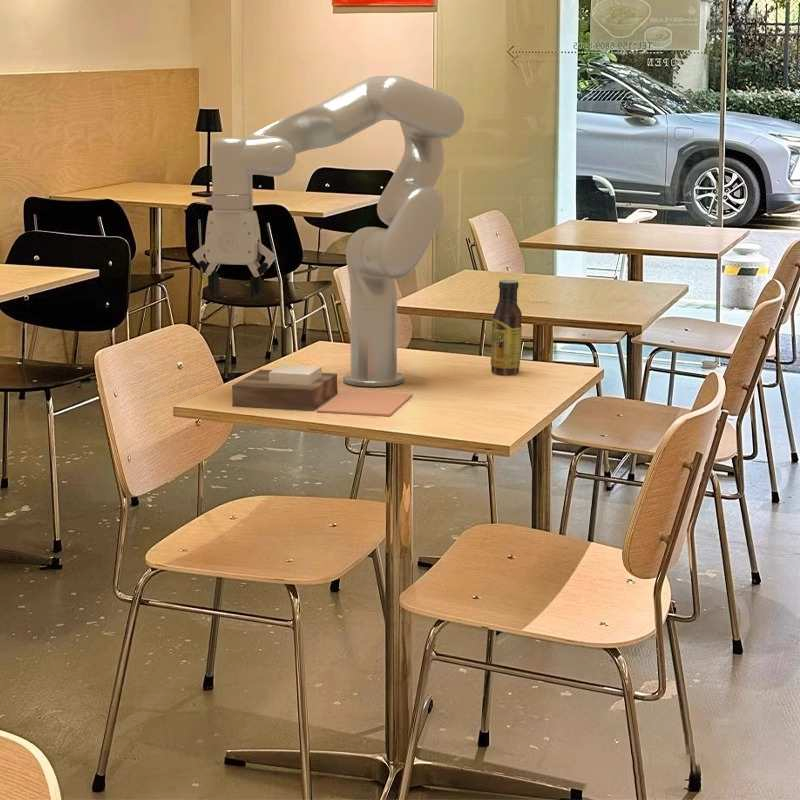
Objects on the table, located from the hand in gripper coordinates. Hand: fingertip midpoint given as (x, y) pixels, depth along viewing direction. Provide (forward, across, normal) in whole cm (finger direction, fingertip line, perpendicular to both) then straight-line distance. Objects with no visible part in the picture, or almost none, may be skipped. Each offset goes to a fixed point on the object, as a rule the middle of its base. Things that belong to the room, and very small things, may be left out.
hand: (235, 295), depth 262 cm
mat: (+20, +26, 0) cm, 33 cm away
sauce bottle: (+20, +47, +36) cm, 63 cm away
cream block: (+16, +12, 0) cm, 20 cm away
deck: (+20, +10, 0) cm, 22 cm away
